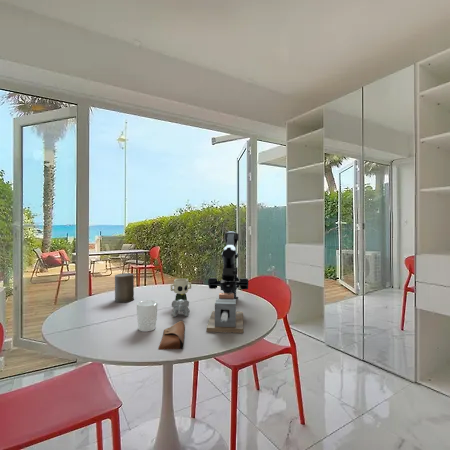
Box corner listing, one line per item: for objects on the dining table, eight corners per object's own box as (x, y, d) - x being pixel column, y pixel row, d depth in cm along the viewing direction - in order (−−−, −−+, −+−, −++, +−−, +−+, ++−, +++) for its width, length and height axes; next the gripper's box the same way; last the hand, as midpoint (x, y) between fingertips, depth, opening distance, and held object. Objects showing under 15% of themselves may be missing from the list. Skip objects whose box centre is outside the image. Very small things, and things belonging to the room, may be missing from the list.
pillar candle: (137, 299, 152) (137, 271, 152) (122, 303, 144) (122, 274, 144) (126, 297, 157) (125, 270, 157) (110, 300, 149) (110, 272, 149)
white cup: (146, 333, 104) (146, 307, 104) (132, 329, 109) (132, 303, 109) (161, 327, 111) (161, 302, 111) (147, 323, 115) (147, 299, 115)
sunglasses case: (162, 329, 109) (171, 314, 109) (178, 337, 109) (187, 323, 110) (157, 350, 91) (168, 332, 91) (176, 360, 92) (186, 342, 92)
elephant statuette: (187, 312, 132) (187, 295, 132) (195, 318, 121) (195, 300, 121) (168, 315, 128) (167, 298, 128) (174, 321, 117) (174, 303, 117)
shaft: (219, 316, 118) (219, 292, 118) (233, 316, 118) (233, 293, 118) (215, 331, 101) (215, 304, 101) (232, 332, 101) (232, 304, 101)
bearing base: (212, 314, 128) (212, 291, 128) (243, 314, 127) (243, 291, 127) (206, 331, 107) (206, 304, 107) (243, 332, 106) (243, 305, 106)
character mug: (172, 309, 135) (172, 282, 135) (168, 305, 141) (168, 279, 141) (193, 306, 140) (193, 280, 140) (188, 302, 146) (188, 277, 146)
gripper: (208, 260, 131) (205, 290, 121) (248, 261, 130) (248, 290, 119) (210, 274, 139) (207, 302, 129) (248, 274, 138) (248, 303, 127)
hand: (227, 299), depth 126 cm, fingers closed
